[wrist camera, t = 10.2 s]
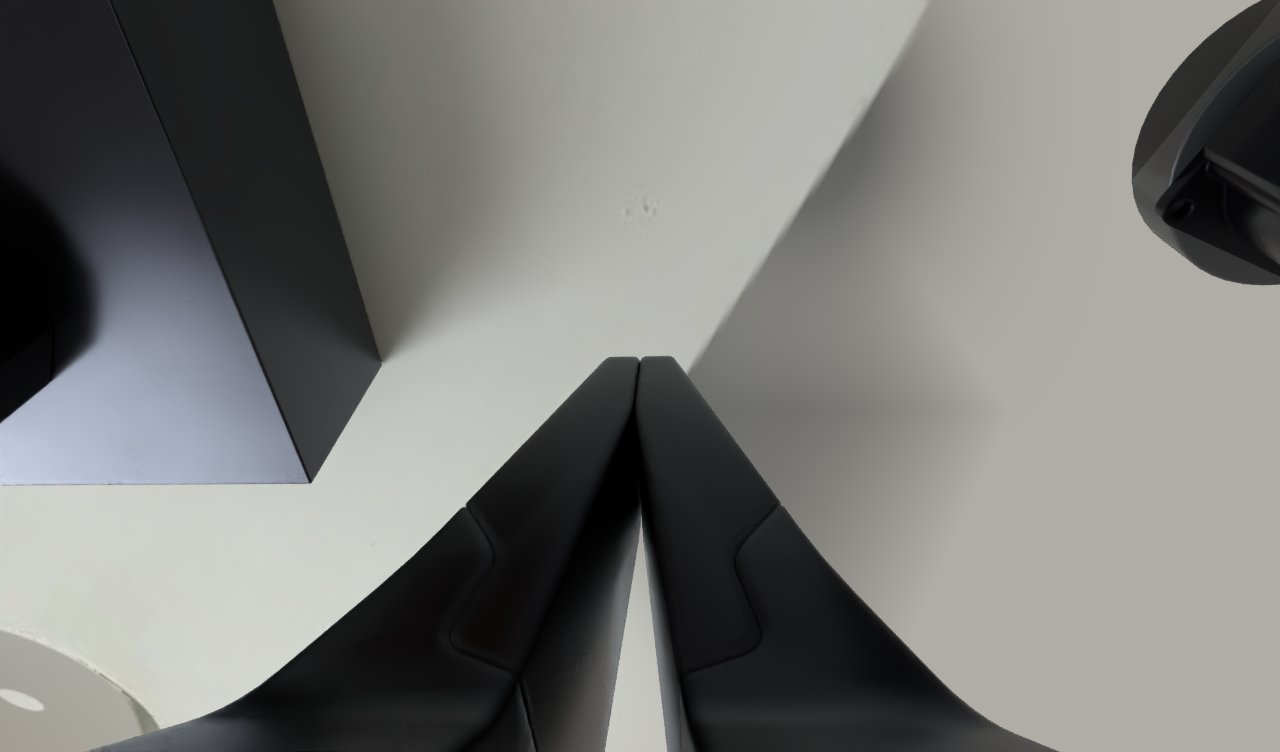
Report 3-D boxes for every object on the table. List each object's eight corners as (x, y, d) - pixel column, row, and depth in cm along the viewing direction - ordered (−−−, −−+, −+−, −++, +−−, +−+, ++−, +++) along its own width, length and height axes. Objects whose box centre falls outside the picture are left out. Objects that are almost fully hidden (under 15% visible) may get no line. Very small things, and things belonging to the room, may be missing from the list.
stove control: (256, -53, 17) (24, -10, 11) (382, 365, 24) (281, 534, 18) (-189, -30, 18) (-639, 23, 12) (56, 370, 25) (-149, 535, 19)
